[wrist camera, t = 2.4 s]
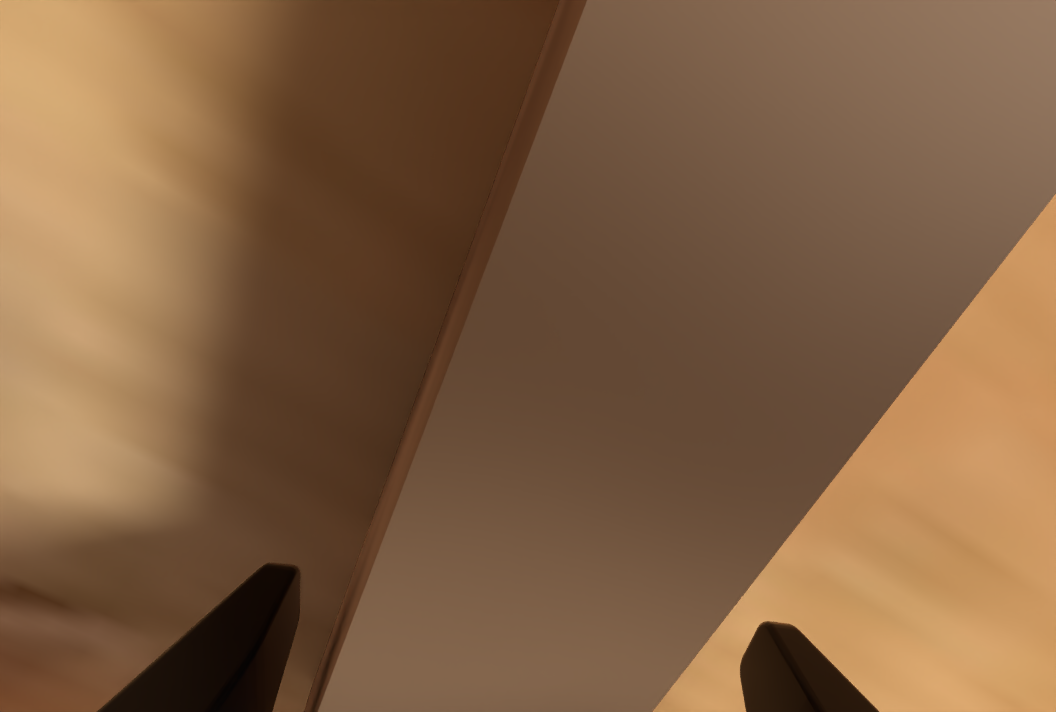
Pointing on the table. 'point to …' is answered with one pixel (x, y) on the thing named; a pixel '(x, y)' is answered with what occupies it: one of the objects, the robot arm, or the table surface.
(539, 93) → the brown wooden bar
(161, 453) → the table surface
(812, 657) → the robot arm
